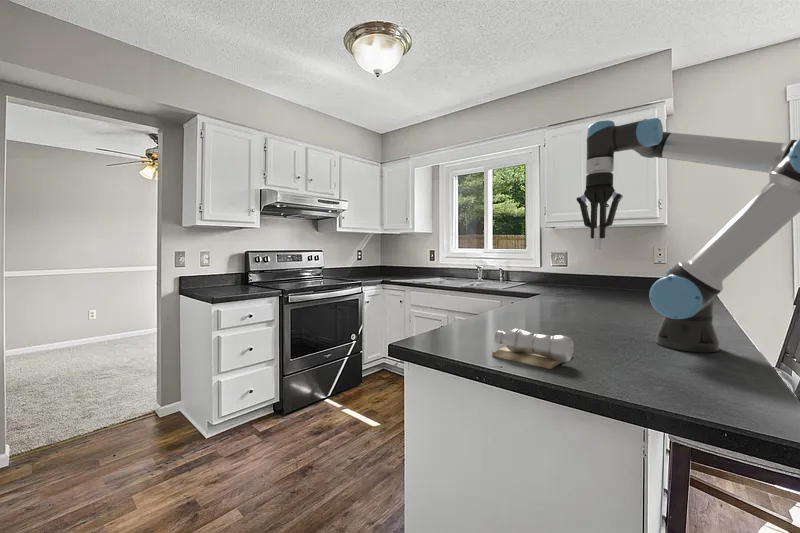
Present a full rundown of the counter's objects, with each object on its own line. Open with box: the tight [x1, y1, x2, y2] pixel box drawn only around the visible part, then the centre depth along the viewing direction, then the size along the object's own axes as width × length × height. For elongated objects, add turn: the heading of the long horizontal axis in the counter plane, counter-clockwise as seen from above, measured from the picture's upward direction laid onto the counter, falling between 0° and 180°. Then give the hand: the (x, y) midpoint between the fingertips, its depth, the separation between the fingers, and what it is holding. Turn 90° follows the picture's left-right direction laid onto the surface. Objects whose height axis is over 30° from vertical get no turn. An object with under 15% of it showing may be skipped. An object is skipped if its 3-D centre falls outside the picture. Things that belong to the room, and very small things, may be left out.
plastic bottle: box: [494, 328, 574, 363], centre depth 98 cm, size 6×7×20 cm
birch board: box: [491, 345, 563, 370], centre depth 102 cm, size 16×15×1 cm
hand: (597, 248), depth 117 cm, fingers closed
